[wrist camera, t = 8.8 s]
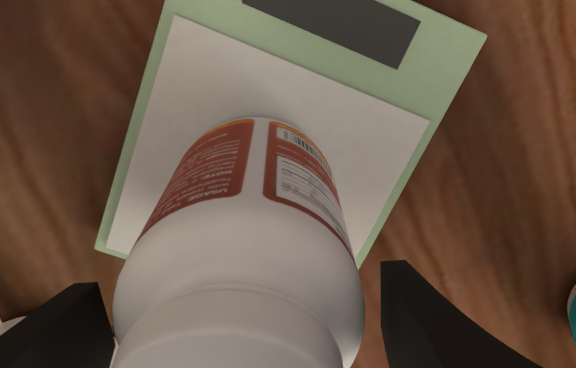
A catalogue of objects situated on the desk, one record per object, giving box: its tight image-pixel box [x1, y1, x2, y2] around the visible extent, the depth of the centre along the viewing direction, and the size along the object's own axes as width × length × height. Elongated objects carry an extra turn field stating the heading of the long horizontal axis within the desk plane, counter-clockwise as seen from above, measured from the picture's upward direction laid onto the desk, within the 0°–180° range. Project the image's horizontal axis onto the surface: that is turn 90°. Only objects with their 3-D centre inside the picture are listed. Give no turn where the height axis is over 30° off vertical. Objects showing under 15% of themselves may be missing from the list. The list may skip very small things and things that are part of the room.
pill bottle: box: [111, 117, 365, 368], centre depth 14 cm, size 6×6×11 cm
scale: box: [94, 0, 487, 270], centre depth 19 cm, size 14×11×2 cm
